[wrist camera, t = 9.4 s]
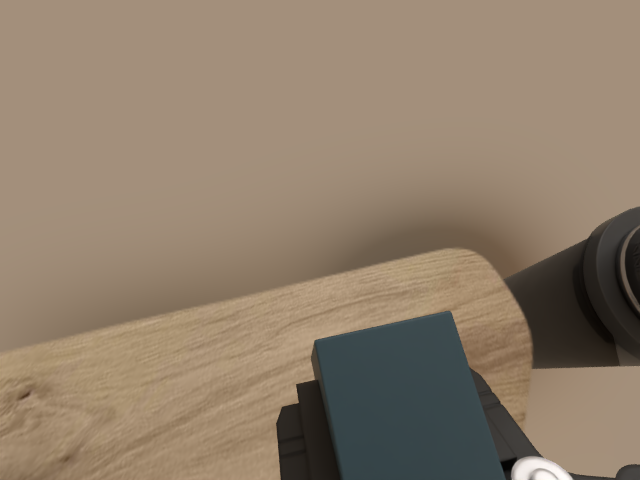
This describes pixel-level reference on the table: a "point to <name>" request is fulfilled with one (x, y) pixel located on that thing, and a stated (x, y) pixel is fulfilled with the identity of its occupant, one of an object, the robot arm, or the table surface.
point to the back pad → (404, 403)
